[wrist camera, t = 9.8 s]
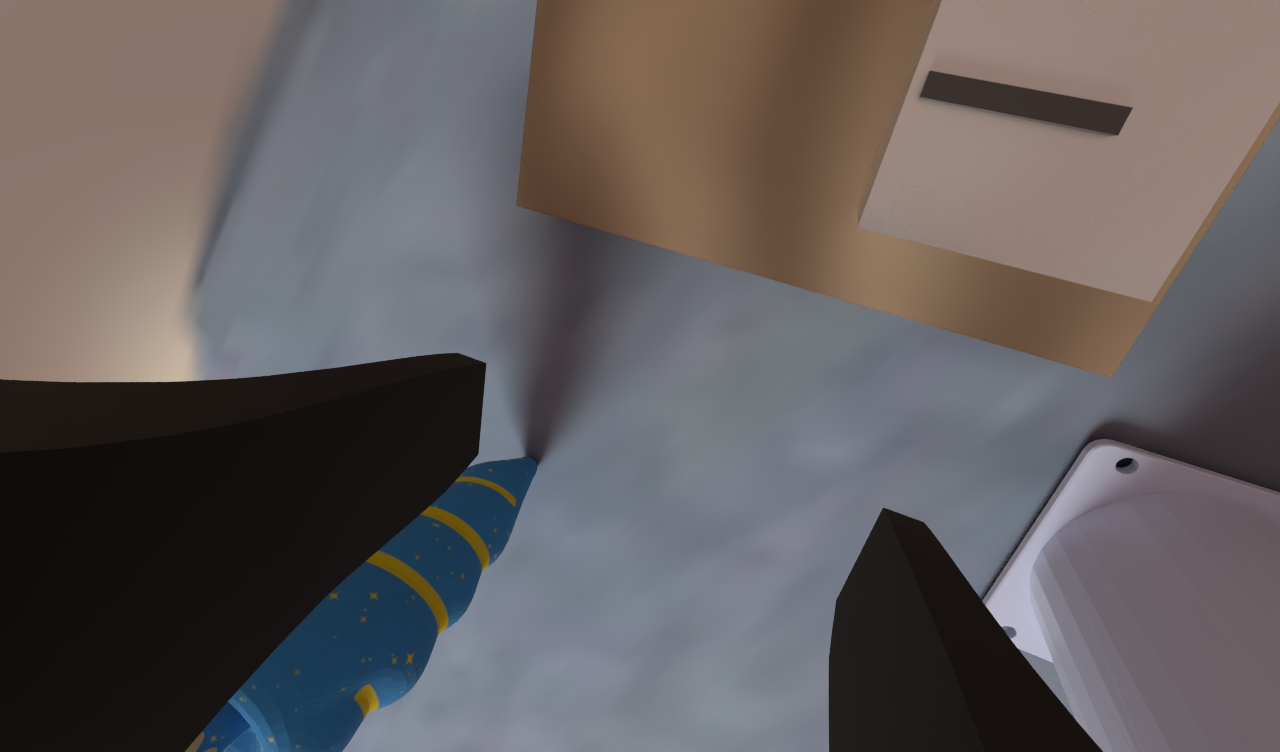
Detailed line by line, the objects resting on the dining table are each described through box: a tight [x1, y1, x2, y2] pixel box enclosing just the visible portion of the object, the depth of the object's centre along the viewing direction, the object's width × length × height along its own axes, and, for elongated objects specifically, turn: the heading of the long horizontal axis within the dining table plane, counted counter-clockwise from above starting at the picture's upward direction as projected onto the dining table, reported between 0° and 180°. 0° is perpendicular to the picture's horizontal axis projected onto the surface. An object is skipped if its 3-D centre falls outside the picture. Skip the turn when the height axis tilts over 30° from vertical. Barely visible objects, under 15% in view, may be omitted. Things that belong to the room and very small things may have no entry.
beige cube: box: [857, 0, 1280, 302], centre depth 11 cm, size 5×5×5 cm
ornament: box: [185, 457, 537, 752], centre depth 18 cm, size 5×5×15 cm
